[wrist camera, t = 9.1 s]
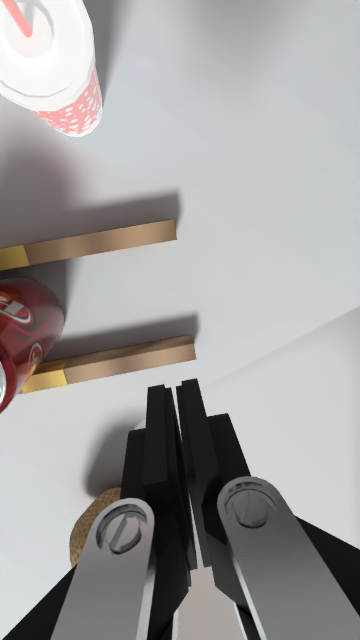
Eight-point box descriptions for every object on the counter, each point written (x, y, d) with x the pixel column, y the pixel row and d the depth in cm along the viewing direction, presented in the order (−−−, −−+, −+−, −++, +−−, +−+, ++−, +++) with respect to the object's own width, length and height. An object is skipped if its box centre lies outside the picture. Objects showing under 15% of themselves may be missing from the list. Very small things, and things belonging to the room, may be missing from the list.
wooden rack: (171, 219, 27) (176, 218, 22) (192, 349, 31) (200, 372, 26) (-62, 259, 26) (-109, 268, 21) (-8, 387, 30) (-38, 419, 25)
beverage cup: (31, 43, 22) (-145, -231, 9) (117, 66, 23) (76, -149, 10) (28, 137, 24) (-124, 30, 10) (108, 155, 25) (62, 78, 11)
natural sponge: (175, 489, 36) (185, 584, 27) (127, 535, 37) (120, 641, 28) (114, 451, 33) (102, 542, 24) (65, 502, 35) (35, 606, 25)
